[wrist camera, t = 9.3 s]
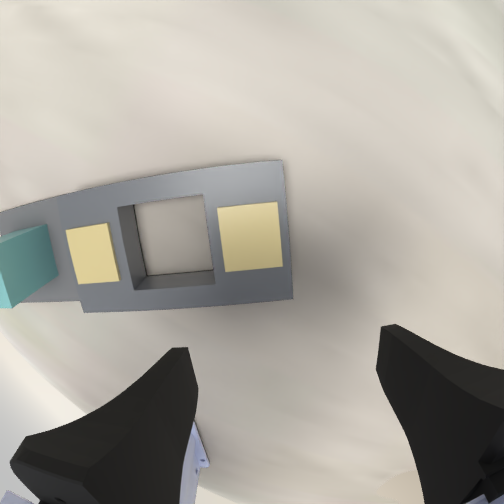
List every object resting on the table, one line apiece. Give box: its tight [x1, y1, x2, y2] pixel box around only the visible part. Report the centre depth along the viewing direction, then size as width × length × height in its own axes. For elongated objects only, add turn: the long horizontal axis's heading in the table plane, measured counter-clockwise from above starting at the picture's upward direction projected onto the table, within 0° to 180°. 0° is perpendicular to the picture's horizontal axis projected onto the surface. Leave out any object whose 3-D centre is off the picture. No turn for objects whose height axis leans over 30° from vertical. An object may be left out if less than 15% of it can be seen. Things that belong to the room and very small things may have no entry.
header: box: [56, 160, 293, 313], centre depth 18 cm, size 8×14×3 cm, turn 96°
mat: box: [0, 197, 80, 303], centre depth 20 cm, size 8×8×1 cm
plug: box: [0, 224, 59, 308], centre depth 16 cm, size 4×4×7 cm
